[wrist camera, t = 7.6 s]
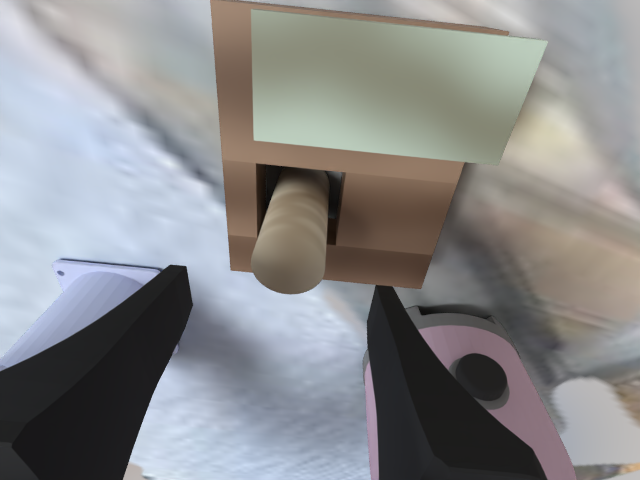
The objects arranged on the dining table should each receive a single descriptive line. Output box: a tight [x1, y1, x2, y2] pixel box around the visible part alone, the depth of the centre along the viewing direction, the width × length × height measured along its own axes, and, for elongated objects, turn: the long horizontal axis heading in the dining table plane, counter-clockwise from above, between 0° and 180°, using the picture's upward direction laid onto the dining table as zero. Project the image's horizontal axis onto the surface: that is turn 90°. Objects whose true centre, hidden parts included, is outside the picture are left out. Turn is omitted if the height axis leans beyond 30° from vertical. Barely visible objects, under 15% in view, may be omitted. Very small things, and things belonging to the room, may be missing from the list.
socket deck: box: [210, 0, 548, 289], centre depth 17 cm, size 14×12×7 cm
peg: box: [251, 166, 330, 294], centre depth 18 cm, size 3×3×8 cm
